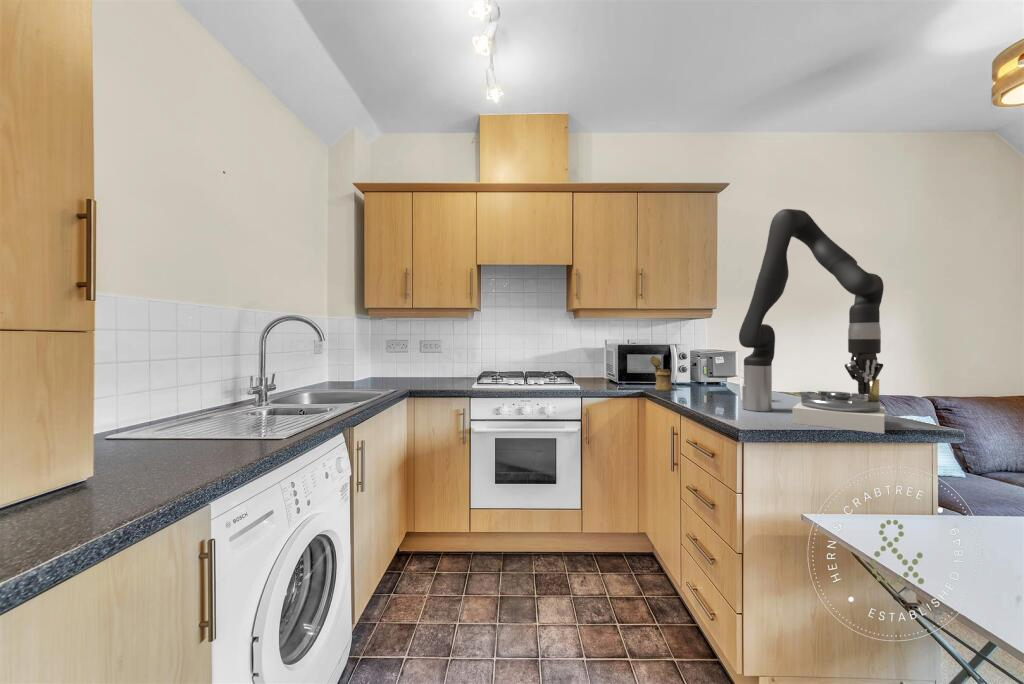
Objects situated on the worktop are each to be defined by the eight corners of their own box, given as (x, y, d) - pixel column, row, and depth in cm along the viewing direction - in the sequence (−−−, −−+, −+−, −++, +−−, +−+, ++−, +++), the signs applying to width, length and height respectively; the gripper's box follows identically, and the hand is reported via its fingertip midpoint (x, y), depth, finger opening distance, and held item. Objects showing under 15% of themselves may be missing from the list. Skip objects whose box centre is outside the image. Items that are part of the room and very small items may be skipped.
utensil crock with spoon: (659, 387, 225) (659, 355, 225) (676, 390, 212) (676, 356, 212) (646, 388, 222) (646, 356, 222) (662, 391, 209) (662, 357, 209)
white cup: (762, 402, 173) (762, 379, 173) (743, 401, 175) (743, 378, 174) (755, 399, 181) (755, 377, 181) (736, 398, 182) (736, 377, 182)
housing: (792, 423, 131) (792, 407, 130) (802, 413, 147) (802, 399, 147) (884, 433, 115) (884, 416, 115) (884, 421, 132) (884, 406, 131)
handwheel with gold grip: (796, 406, 131) (796, 377, 130) (805, 399, 145) (805, 373, 145) (879, 414, 117) (879, 382, 117) (880, 405, 131) (880, 377, 131)
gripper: (861, 337, 117) (861, 396, 117) (894, 337, 120) (894, 394, 121) (834, 338, 124) (834, 393, 125) (866, 337, 128) (866, 391, 128)
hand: (864, 394), depth 123 cm, fingers closed
